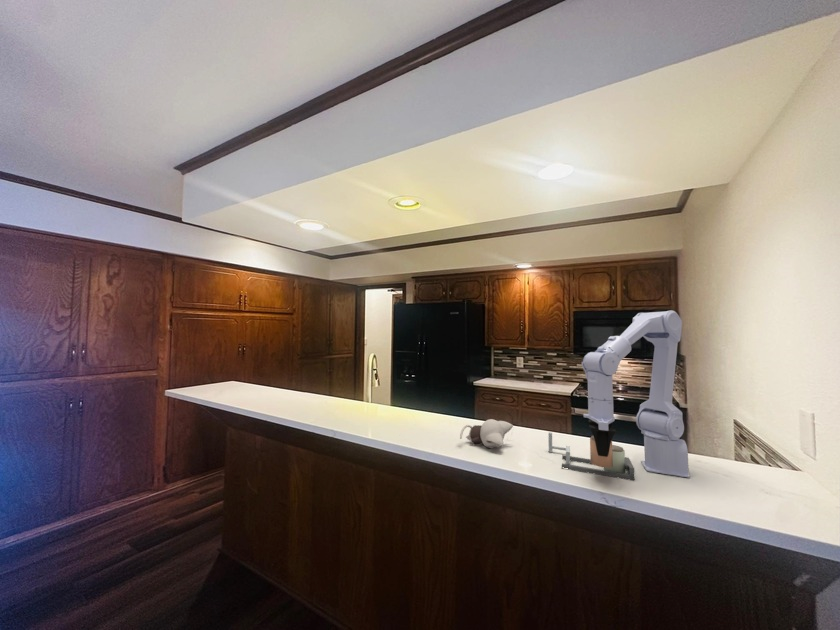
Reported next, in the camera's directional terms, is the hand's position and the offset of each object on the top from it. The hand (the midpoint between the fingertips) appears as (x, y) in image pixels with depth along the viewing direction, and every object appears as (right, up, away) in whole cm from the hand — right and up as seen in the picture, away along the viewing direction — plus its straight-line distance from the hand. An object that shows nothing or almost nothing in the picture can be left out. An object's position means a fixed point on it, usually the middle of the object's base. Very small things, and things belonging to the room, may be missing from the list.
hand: (601, 452), depth 84 cm
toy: (-25, -8, +23) cm, 35 cm away
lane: (+2, -7, +7) cm, 10 cm away
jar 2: (+6, -7, +5) cm, 11 cm away
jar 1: (0, -3, 0) cm, 3 cm away
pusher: (-5, -7, +14) cm, 16 cm away
